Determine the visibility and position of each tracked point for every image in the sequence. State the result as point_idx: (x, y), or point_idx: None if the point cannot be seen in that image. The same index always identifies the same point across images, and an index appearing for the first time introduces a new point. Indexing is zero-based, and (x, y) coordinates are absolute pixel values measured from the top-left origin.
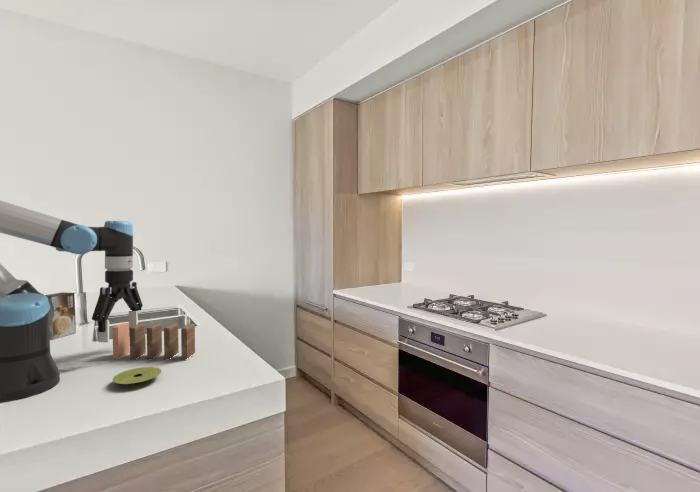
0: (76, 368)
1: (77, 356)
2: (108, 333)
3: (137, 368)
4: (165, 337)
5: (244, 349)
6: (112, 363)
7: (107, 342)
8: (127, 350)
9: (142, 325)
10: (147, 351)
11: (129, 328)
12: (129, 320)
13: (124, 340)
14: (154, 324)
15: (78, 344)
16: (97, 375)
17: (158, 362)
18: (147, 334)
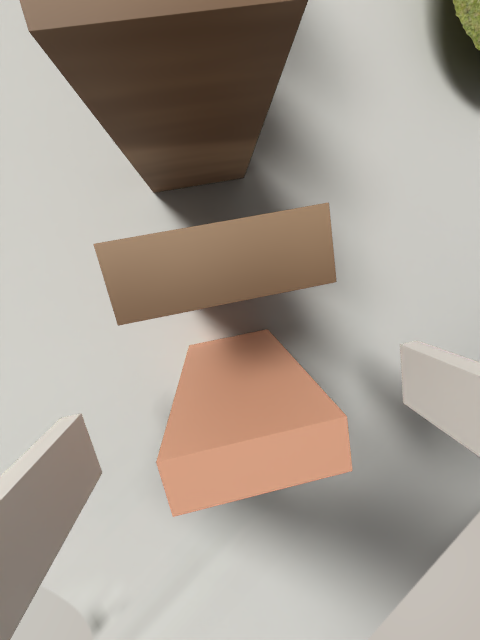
0: (389, 394)
1: (277, 511)
2: (471, 365)
3: (466, 23)
4: None
5: None
6: (322, 306)
7: (417, 341)
8: (203, 348)
9: (164, 232)
10: (249, 156)
11: (331, 278)
12: (44, 561)
13: (230, 367)
14: (93, 13)
15: (156, 636)
16: (447, 246)
17: None
18: (277, 68)
